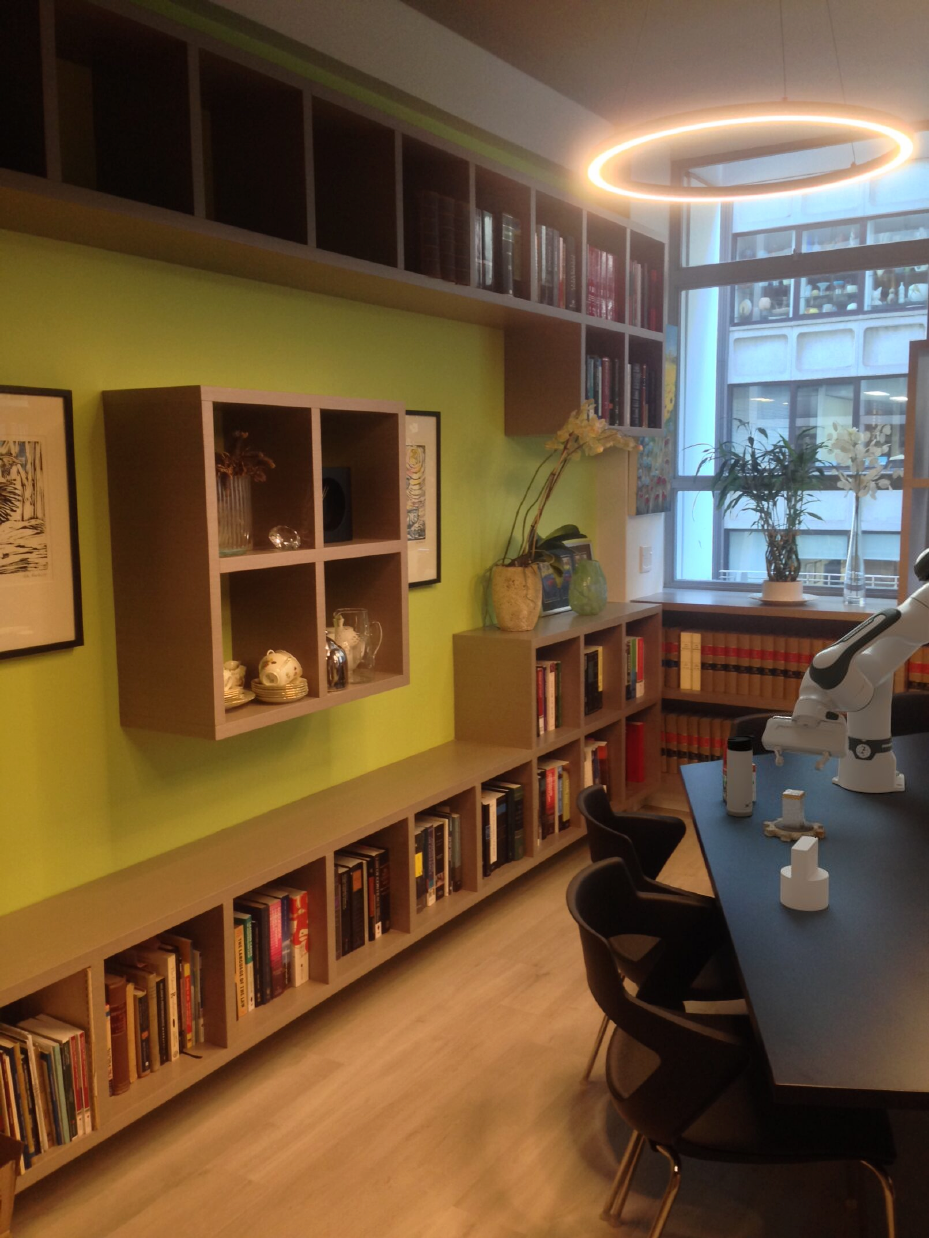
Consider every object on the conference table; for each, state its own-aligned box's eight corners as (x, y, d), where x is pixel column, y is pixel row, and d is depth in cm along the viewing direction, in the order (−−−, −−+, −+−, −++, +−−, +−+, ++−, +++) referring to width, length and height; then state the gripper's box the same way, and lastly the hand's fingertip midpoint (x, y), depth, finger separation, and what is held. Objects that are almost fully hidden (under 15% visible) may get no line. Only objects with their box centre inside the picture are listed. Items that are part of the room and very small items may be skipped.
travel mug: (754, 817, 263) (755, 738, 261) (727, 816, 265) (727, 738, 262) (753, 810, 269) (753, 733, 267) (726, 809, 271) (726, 732, 269)
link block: (787, 821, 254) (787, 789, 253) (804, 824, 251) (804, 791, 250) (782, 826, 250) (782, 793, 249) (799, 828, 248) (799, 795, 247)
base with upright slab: (822, 914, 202) (822, 853, 201) (774, 905, 207) (775, 846, 206) (833, 898, 210) (834, 839, 208) (787, 890, 215) (787, 833, 213)
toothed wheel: (773, 820, 260) (773, 813, 260) (831, 828, 253) (831, 821, 253) (755, 836, 249) (755, 828, 249) (815, 845, 241) (816, 837, 241)
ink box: (756, 801, 277) (756, 746, 275) (727, 803, 276) (727, 748, 274) (750, 797, 281) (751, 743, 279) (722, 799, 280) (722, 745, 278)
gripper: (766, 708, 265) (752, 754, 259) (850, 716, 254) (838, 765, 247) (771, 722, 270) (758, 768, 263) (854, 730, 258) (843, 779, 251)
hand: (798, 766), depth 255 cm, fingers open, 8 cm apart
